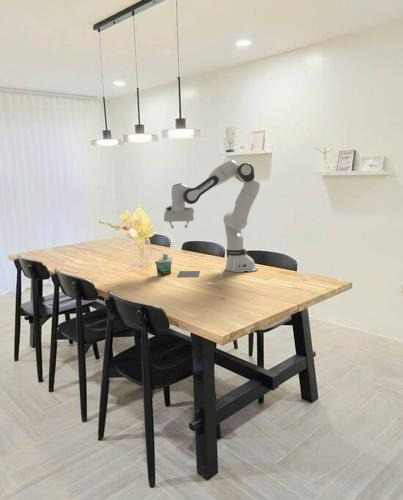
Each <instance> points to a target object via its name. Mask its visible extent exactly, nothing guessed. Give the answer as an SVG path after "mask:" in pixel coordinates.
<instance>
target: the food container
mask: <svg viewBox="0 0 403 500" xmlns="http://www.w3.org/2000/svg"><path fill="white" fill-rule="evenodd" d="M158 261H159V260H158ZM158 261H157V260H156V261H155V266H156V267H155V268H156V274H157V276H159V277H160V276H163V277H164V276H165V277H166V276H169V275H171V274H172V264H173V260H172V261H171V262H166V263H158Z"/></svg>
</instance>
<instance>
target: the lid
mask: <svg viewBox="0 0 403 500" xmlns="http://www.w3.org/2000/svg"><path fill="white" fill-rule="evenodd" d="M171 261H172V262H173V256H169V254H168V253H167V254H165V253H164V254H162V257H160V258H159V259H158V263H166V262H171Z"/></svg>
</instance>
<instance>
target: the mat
mask: <svg viewBox="0 0 403 500" xmlns="http://www.w3.org/2000/svg"><path fill="white" fill-rule="evenodd" d="M200 274H201V270H179V272H178V274H177V276H176V278H180V279H182V278H199V277H200Z"/></svg>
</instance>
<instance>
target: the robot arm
mask: <svg viewBox="0 0 403 500" xmlns="http://www.w3.org/2000/svg"><path fill="white" fill-rule="evenodd" d="M233 177H234V178H236V179H237V180H238V181H239V182H241V183H243V186H242V188H241V190H240V191H239V194H238V195H237V198H236V199H235V204H234V208H233V211H229V212H227V213H225V214H224V216H223V218H222V220H223V223H224V228H225V235H226V264H225V268H224V269H226V271H228V272H232V273H243V272H244V271H248V272H256V270H257V271H258V270H259V267H258V266H257V265H256V263H255V260H254V258H252V257H251V256H250V255H248V254H247V253H248V251H247V249H246V248H244V236H243V233H242V230H243V229H245V228H246V226H247V225H248V218H249V213H250V210H251V208H252V206H253V204H254V202H255V200H256V198H257V196H258V193H259V191H260V188H261V184H260V182H259V181H258V180H257V179H255V169H254V166H253V165H252V164H251V163H250V162H243V163H241V164H240V165H239V164H238V163H237V162H236V161H235V160H232V159H231V160H227V161H226V162H223V163H221V164H220V165H218V166H217V167H216V168H214V169H213V170H212V172H211V173H210V174H209V175H208V177H207V178H205V180H204V181H202V182H201V183H200V184H198V185H197V186H195V187H189V186H188V185H185V184H184V183H182V182H181V183H175V184H173V185H172V186H171V194H170V195H171V205H169V206H167V207H165V212H164V216H163V222H167V223H169V225H170V228H171V229H174V225H173V223H174V222H186V224H185V225H184V228H186V229H188V224H189V223H190V222H194V219H195V218H194V214H195V209H194V208H193V207H186V204H188V205H194V204H196V203H197V202H198V201H199V199H200V198H201V196H203V195H204V194H205V193H207V192H208V191H209V190H211V189H212V188H215V187H217V186H220V185H221V184H223V183H226V182H227V181H228V180H230V179H232V178H233Z"/></svg>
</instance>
